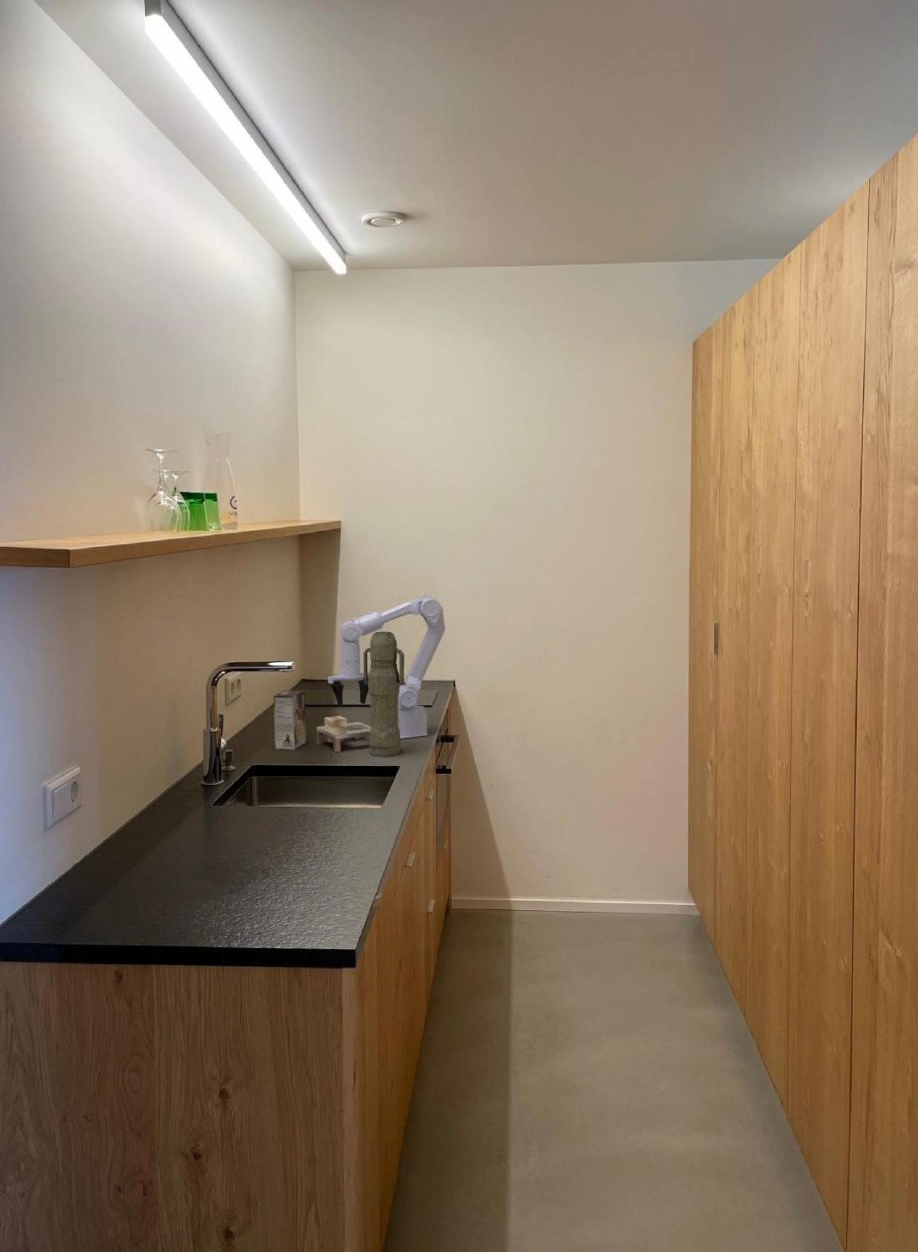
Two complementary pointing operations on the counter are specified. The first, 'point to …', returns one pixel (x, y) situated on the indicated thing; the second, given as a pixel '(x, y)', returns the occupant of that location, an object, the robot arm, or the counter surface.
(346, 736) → the keyhole stand
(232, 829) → the counter surface
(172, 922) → the counter surface
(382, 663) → the thermos
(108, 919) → the counter surface
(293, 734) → the coffee box
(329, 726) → the peg
